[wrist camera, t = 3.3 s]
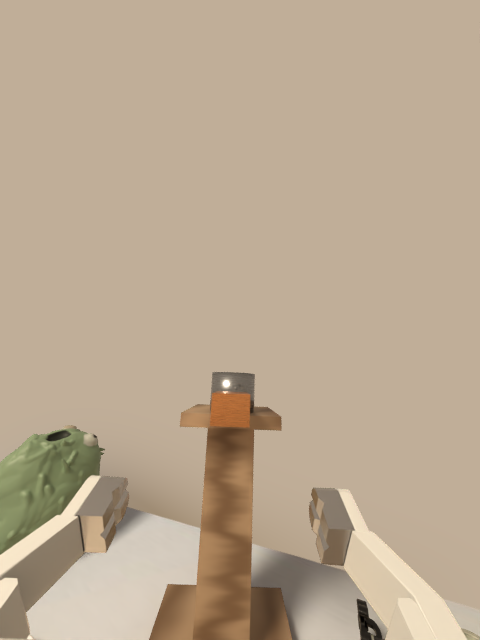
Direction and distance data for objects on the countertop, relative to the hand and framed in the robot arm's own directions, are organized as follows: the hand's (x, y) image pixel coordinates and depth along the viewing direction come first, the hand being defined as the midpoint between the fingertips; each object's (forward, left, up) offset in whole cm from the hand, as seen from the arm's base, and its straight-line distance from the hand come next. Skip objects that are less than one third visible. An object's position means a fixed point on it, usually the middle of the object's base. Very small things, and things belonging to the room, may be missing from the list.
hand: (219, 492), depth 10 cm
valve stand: (0, -24, -25) cm, 34 cm away
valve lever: (0, -17, +1) cm, 17 cm away
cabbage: (+34, -37, -25) cm, 56 cm away
